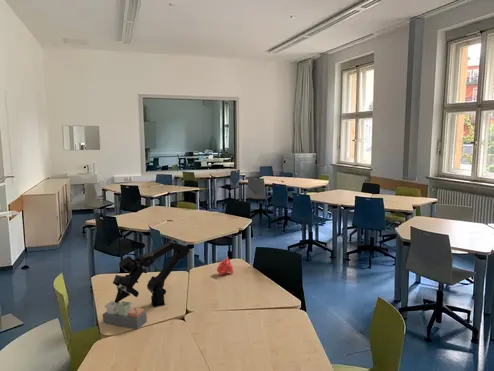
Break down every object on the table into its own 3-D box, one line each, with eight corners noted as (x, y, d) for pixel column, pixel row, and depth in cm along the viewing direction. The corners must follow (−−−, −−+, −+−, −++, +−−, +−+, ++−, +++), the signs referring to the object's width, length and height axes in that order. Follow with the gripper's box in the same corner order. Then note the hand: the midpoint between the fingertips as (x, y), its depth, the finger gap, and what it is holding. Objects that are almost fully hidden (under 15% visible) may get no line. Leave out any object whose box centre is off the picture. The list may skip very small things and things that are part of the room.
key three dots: (135, 320, 194) (134, 307, 193) (144, 321, 192) (143, 308, 191) (128, 325, 189) (127, 312, 188) (138, 327, 187) (137, 313, 186)
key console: (113, 316, 200) (112, 307, 199) (146, 321, 193) (146, 312, 192) (103, 323, 192) (102, 314, 192) (137, 329, 186) (136, 319, 185)
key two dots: (123, 313, 196) (122, 300, 195) (132, 315, 194) (131, 302, 193) (116, 318, 190) (115, 305, 190) (125, 320, 189) (125, 307, 188)
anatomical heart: (216, 277, 256) (213, 260, 256) (228, 272, 265) (225, 256, 265) (225, 277, 250) (222, 260, 250) (237, 272, 259) (234, 255, 259)
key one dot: (112, 313, 198) (111, 300, 197) (121, 315, 196) (120, 302, 195) (105, 318, 193) (104, 305, 192) (114, 320, 191) (113, 306, 190)
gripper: (114, 264, 203) (96, 290, 196) (132, 273, 190) (112, 300, 183) (129, 274, 209) (111, 299, 203) (146, 283, 196) (128, 310, 190)
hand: (115, 302), depth 195 cm, fingers closed, pressing on key one dot
